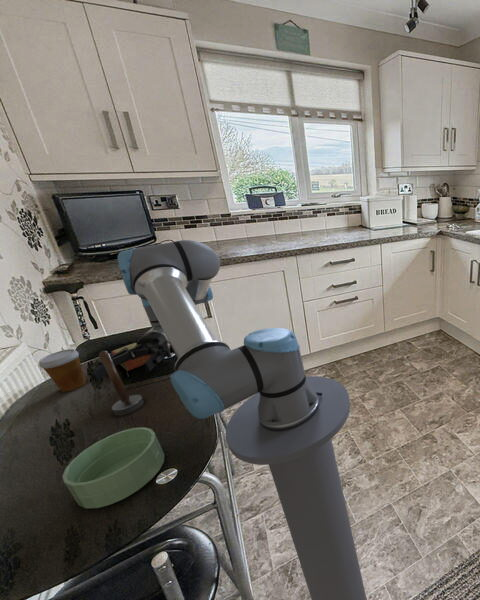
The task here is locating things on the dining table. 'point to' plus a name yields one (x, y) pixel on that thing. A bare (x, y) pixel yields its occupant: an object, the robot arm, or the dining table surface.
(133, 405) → the wooden peg on disc
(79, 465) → the bowl
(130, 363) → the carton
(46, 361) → the disposable coffee cup
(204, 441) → the dining table surface
